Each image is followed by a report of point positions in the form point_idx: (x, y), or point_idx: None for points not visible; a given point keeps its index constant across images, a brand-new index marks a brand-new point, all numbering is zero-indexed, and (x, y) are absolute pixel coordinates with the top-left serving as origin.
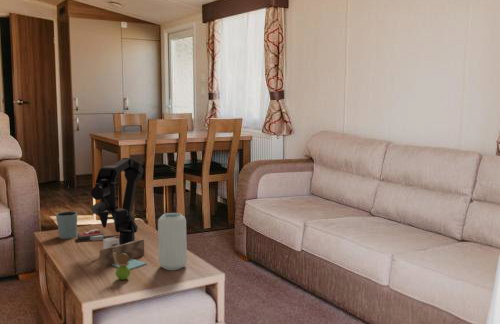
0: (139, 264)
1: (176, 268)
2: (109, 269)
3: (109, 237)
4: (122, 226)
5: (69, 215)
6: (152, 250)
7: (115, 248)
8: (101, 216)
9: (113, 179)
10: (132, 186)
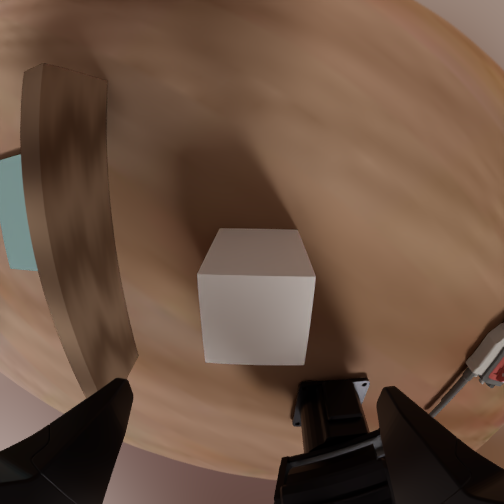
0: (8, 238)
1: None
2: None
3: (452, 387)
4: (327, 473)
5: None
6: (156, 401)
7: (30, 196)
8: (458, 501)
9: None
10: None
